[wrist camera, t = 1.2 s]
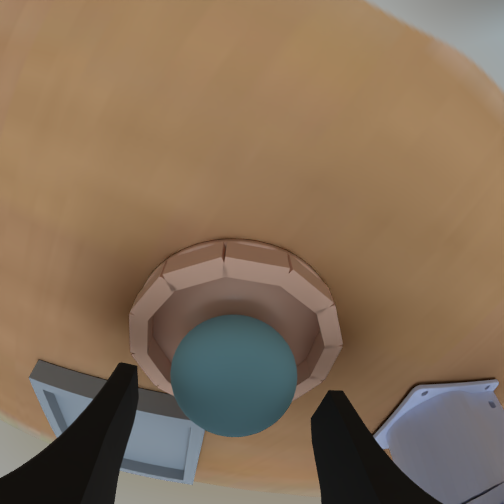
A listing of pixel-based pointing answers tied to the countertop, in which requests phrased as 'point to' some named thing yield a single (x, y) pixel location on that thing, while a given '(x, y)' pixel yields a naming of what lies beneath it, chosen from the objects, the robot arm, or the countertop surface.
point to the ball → (233, 375)
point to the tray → (144, 428)
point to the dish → (235, 305)
